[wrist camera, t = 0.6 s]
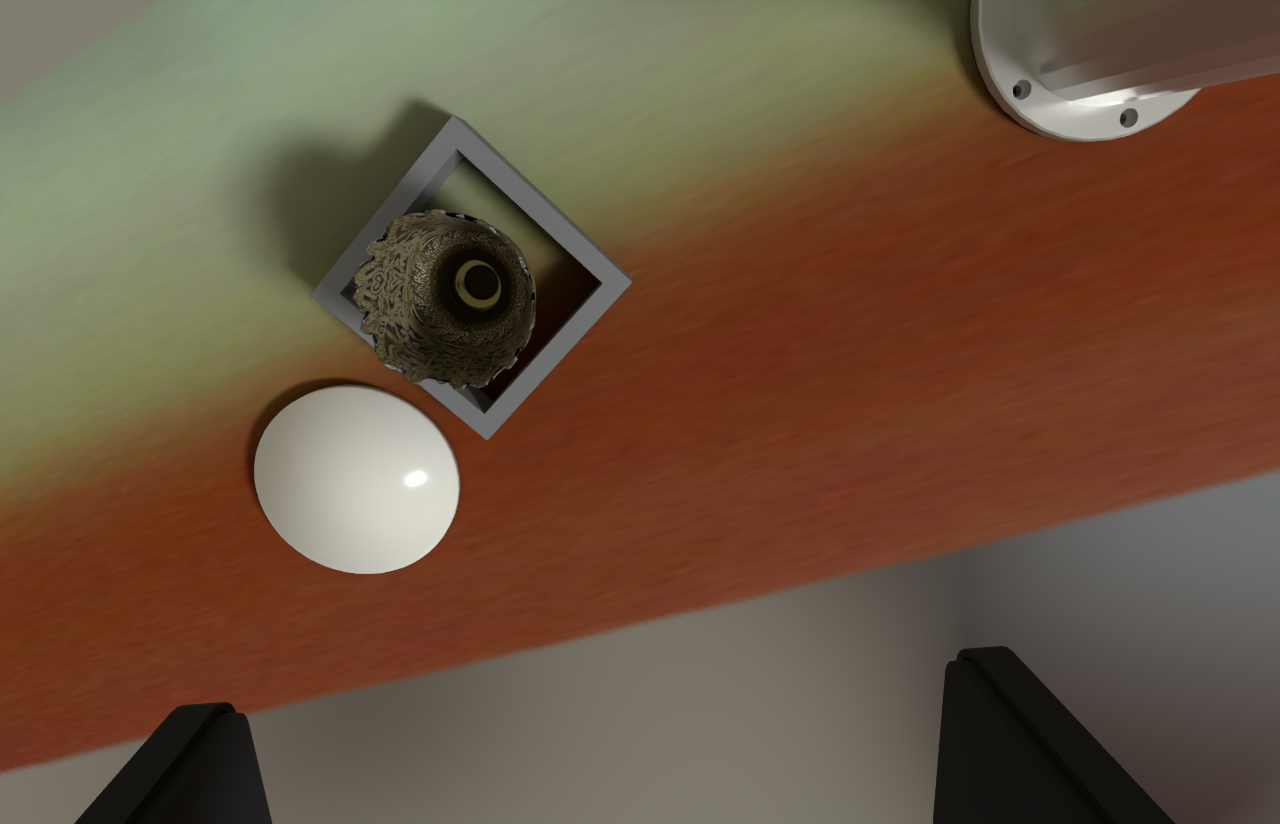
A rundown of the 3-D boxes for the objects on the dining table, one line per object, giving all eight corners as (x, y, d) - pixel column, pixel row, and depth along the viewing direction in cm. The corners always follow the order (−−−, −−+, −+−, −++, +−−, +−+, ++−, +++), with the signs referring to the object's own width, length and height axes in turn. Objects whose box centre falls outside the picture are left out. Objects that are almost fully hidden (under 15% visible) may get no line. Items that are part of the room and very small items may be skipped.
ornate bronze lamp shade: (397, 332, 37) (338, 366, 29) (422, 191, 35) (366, 187, 27) (536, 367, 38) (513, 410, 30) (568, 231, 36) (553, 239, 28)
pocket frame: (465, 121, 34) (453, 115, 32) (631, 276, 36) (632, 282, 34) (330, 288, 36) (309, 294, 34) (495, 425, 39) (487, 440, 36)
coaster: (339, 342, 37) (333, 345, 36) (500, 473, 39) (498, 478, 39) (222, 484, 39) (214, 490, 38) (381, 601, 42) (376, 608, 41)
